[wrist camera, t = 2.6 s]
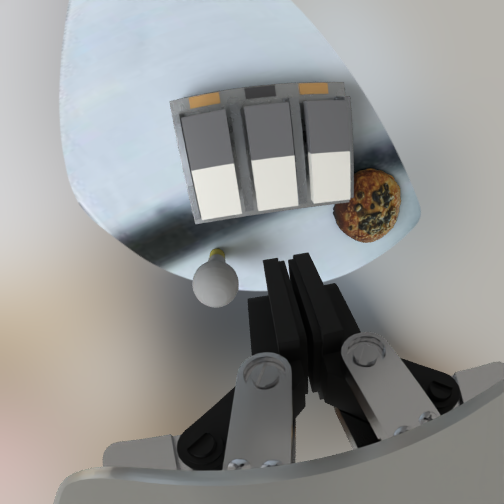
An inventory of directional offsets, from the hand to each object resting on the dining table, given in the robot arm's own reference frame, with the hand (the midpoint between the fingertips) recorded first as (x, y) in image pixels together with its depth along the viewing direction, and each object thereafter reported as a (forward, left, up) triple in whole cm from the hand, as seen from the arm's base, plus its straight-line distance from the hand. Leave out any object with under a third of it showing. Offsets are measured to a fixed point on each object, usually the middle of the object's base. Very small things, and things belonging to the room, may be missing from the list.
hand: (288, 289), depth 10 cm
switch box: (-1, +2, -25) cm, 25 cm away
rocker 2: (-1, +2, -17) cm, 17 cm away
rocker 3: (-1, +7, -17) cm, 19 cm away
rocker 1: (-1, -4, -17) cm, 18 cm away
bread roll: (+9, +16, -26) cm, 32 cm away
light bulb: (+13, -6, -26) cm, 29 cm away
